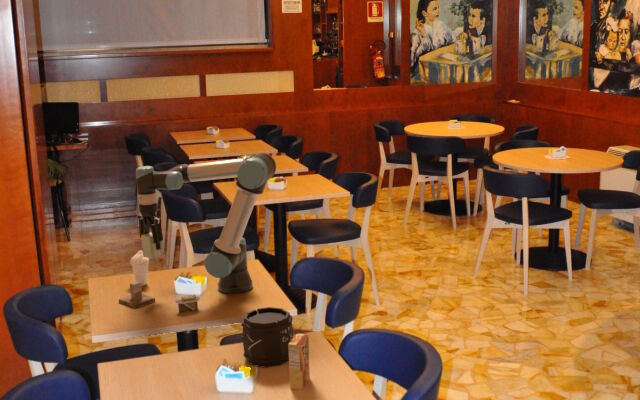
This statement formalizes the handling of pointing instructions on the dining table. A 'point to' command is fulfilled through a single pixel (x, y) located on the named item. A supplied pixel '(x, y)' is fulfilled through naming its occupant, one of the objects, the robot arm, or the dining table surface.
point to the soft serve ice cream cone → (140, 267)
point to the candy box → (299, 361)
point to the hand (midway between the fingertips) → (153, 255)
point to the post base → (138, 302)
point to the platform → (188, 303)
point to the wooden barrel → (267, 336)
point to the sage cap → (149, 245)
